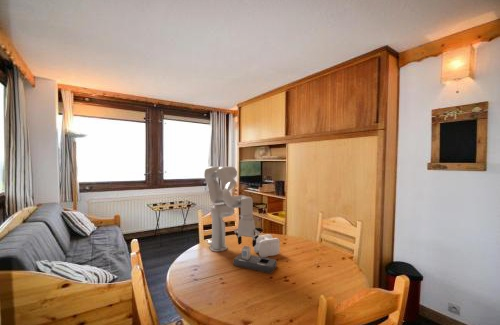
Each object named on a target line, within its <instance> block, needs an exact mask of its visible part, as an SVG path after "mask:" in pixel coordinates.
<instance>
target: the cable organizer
mask: <svg viewBox="0 0 500 325" xmlns="http://www.w3.org/2000/svg"><path fill="white" fill-rule="evenodd" d="M280 242H281V241H280V238H278V237H274V238H273V235H272V234H270V233H269V234H263V235H261V234H260V235H259V237H258V238H257V239H256V245H255V246H254V247H253V252H254V253H256V254H258V255H259V257H264V258H268V257H275V256H276V255H279V254H280V251H281V250H280V246H281V245H280Z"/></svg>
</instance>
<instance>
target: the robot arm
mask: <svg viewBox="0 0 500 325" xmlns="http://www.w3.org/2000/svg"><path fill="white" fill-rule="evenodd" d="M237 176H238V171H237V169H236V168H235V167H234V166H225V165H222V166H221V165H220V166H218V165H217V166H215V165H213V166H212V165H211V166H208V167H206V168H205V170H204V179H205V183H206V184H207V187H208V194H209V199H210V202H211V203H212V204H215V205H213V206H212V207H211V209H210V216H211V217H210V218H211V240H208V241H207V245H209V250H210V251H212V252H216V253H217V252H224V251H226V250H227V249H228V245H227V244H226V223H225V220H224V219H223V218H228V217H232V216H233V215H234V214H235V209H236V208H238V209H239V208H240V214H238V217H239V220H238V226H237V228H235V229H234V230H233V231H234V234H235V236H236V239H237V243H238V245H241V244H242V243H243V240H242V237H248V238H252V247H253V248H254V246H255V245H256V239H257V238H258V237H259V236H261V232H260V231H259V230H257V229H256V225H255V224H256V223H255V219H254V217H253V216H254V215H253V214H254V212H253V210H254V208H253V207H254V206H253V198H252V197H251V196H246V195H244V194H243V195H242V194H239V195H232V194H231V192H230V190H232V189H233V188H234V187H235V186H236V184H237V182H236V180H235V178H236V177H237ZM216 178H219V181H220V182H221V184H222V186H223V189H221V186H220V183H219V182H218V180H217V179H216Z"/></svg>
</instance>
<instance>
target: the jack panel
mask: <svg viewBox="0 0 500 325" xmlns="http://www.w3.org/2000/svg"><path fill="white" fill-rule="evenodd" d="M233 266H236V267H240V268H244V269H249V270H252V271H256V272H261V273H267V274H272V273H273V272H274V271H275V269H276V268H277V259H274V258H270V257H261V256H260V255H259V256H258V255H255V254H254V255H253V254H250V259H249V260H246V259H242V252H240V253H239V254H238V255H237V256H235V257H234V258H233Z"/></svg>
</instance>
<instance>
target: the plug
mask: <svg viewBox="0 0 500 325" xmlns="http://www.w3.org/2000/svg"><path fill="white" fill-rule="evenodd" d="M251 251H252V250H251V247H250V246H248V245H244V246H243V247H242V248H241V253H242V259H246V260H249V259H250V255H251Z"/></svg>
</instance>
